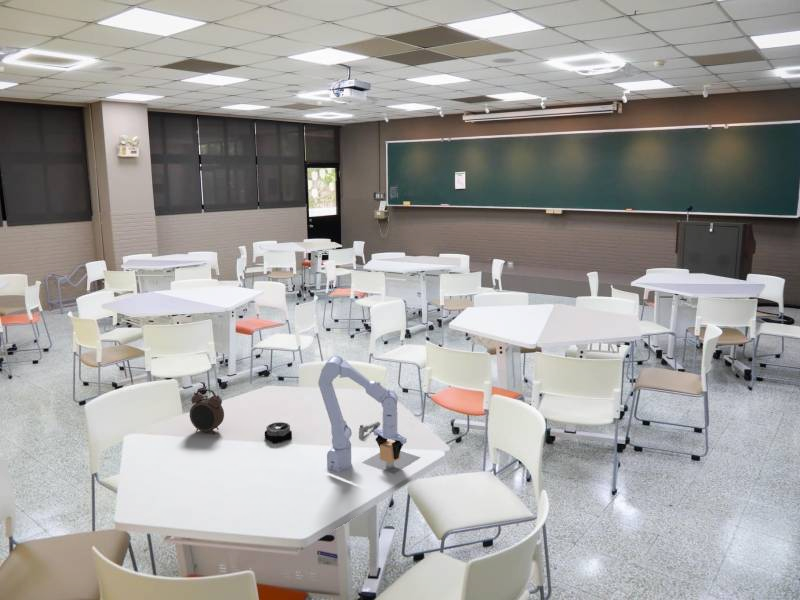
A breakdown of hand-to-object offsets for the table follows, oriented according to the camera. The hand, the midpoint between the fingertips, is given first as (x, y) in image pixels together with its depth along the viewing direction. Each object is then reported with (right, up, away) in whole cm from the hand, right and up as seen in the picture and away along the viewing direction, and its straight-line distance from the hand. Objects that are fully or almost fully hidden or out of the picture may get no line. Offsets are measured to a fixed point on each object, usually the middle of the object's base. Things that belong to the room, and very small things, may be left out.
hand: (389, 456), depth 238 cm
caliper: (-10, +1, +38) cm, 39 cm away
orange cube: (0, -1, 0) cm, 1 cm away
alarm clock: (-82, +2, +36) cm, 90 cm away
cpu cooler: (-49, 0, +29) cm, 58 cm away
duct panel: (+1, -4, +7) cm, 8 cm away
